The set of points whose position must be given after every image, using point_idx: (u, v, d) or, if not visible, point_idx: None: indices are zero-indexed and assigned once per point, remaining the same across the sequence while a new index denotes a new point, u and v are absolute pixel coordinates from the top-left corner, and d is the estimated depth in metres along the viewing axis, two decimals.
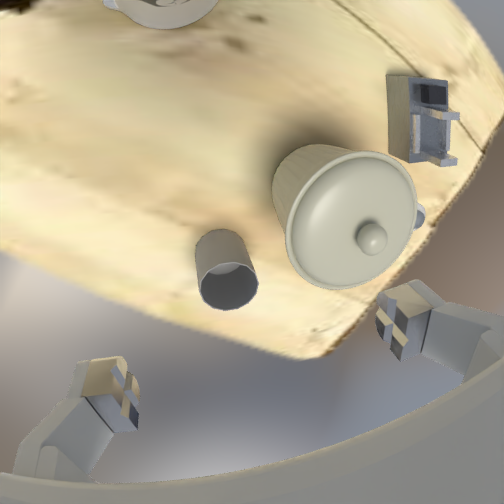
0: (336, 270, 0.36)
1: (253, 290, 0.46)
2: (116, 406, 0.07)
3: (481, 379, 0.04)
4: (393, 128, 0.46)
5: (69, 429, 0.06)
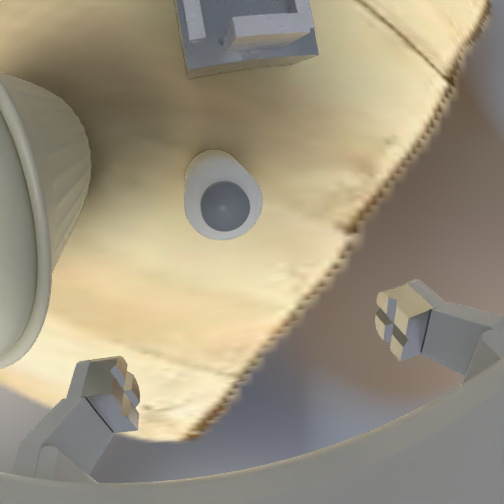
0: None
1: None
2: (116, 406, 0.07)
3: (481, 379, 0.04)
4: (178, 23, 0.19)
5: (69, 429, 0.06)
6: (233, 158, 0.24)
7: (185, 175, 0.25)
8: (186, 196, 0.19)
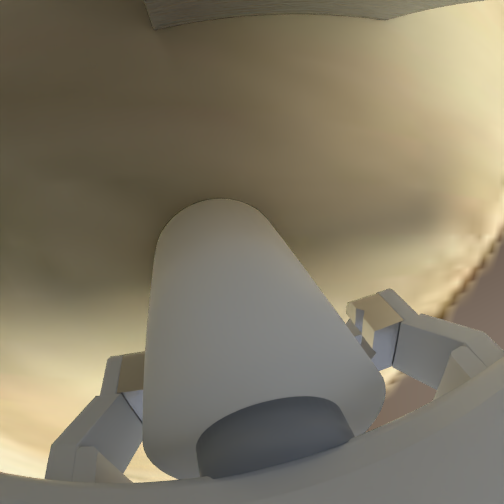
0: None
1: None
2: None
3: (481, 379, 0.04)
4: None
5: (105, 428, 0.06)
6: (273, 233, 0.10)
7: (153, 268, 0.10)
8: (146, 439, 0.05)
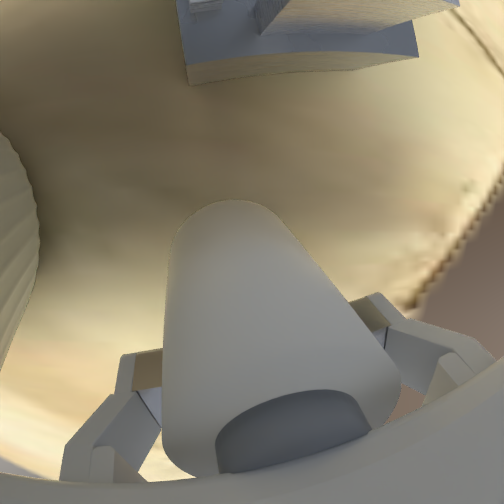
0: None
1: None
2: None
3: (481, 379, 0.04)
4: None
5: (120, 426, 0.06)
6: (288, 234, 0.10)
7: (168, 267, 0.11)
8: (166, 434, 0.05)
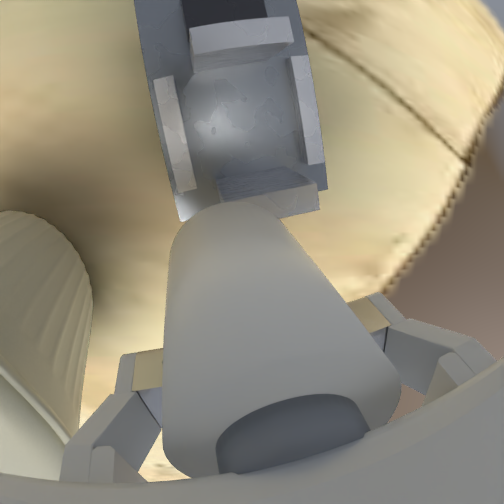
0: None
1: None
2: None
3: (481, 379, 0.04)
4: None
5: (120, 426, 0.06)
6: (289, 236, 0.10)
7: (168, 270, 0.10)
8: (167, 438, 0.05)
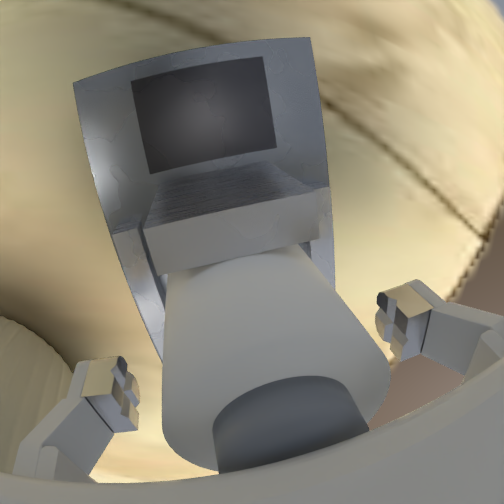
0: None
1: None
2: (116, 406, 0.07)
3: (481, 379, 0.04)
4: None
5: (69, 429, 0.06)
6: None
7: None
8: (166, 419, 0.05)
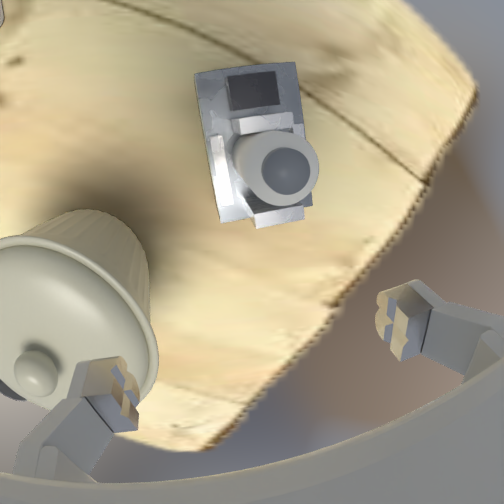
0: (36, 397, 0.20)
1: None
2: (116, 406, 0.07)
3: (481, 379, 0.04)
4: None
5: (69, 429, 0.06)
6: None
7: (235, 150, 0.25)
8: (248, 159, 0.20)
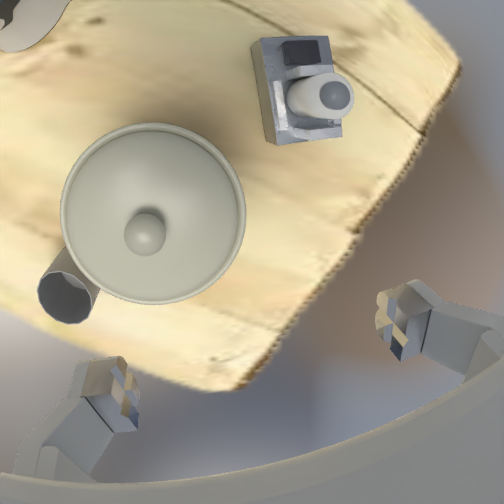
0: (124, 278, 0.28)
1: (92, 304, 0.38)
2: (116, 406, 0.07)
3: (481, 379, 0.04)
4: (263, 108, 0.39)
5: (69, 429, 0.06)
6: None
7: (290, 90, 0.33)
8: (311, 87, 0.28)
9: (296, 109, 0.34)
